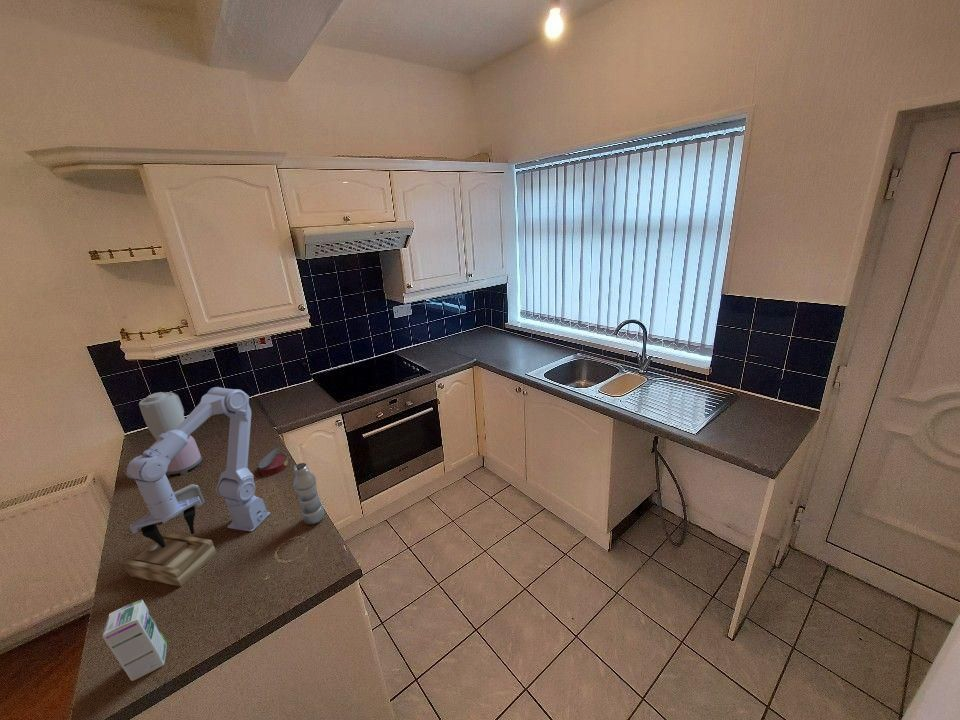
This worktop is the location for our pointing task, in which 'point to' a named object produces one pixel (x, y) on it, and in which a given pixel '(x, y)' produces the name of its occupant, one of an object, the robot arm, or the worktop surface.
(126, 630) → the syrup box
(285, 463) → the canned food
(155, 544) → the lid plate
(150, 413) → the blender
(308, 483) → the plastic bottle
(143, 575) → the oak box
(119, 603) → the worktop surface
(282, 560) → the worktop surface
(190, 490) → the arched grey pull
